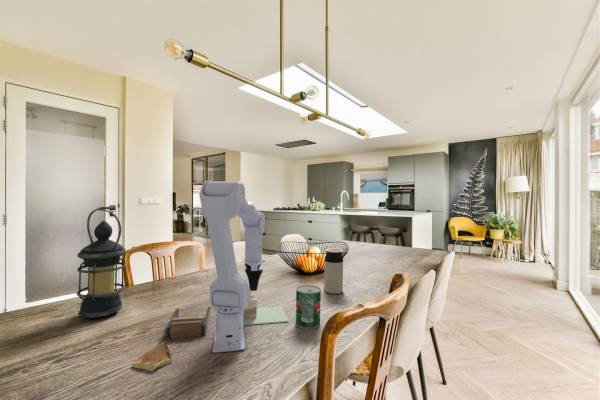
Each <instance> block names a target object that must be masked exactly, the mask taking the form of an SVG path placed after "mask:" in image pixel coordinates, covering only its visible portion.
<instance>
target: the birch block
mask: <svg viewBox="0 0 600 400" xmlns="http://www.w3.org/2000/svg"><path fill="white" fill-rule="evenodd" d="M257 301H258V298H257V295H251V296H250V302H249V304H248V306H247V307H246V308H245V309H244V314H243V319H250V318H256V315H257V308H258V306H257V305H258V302H257Z"/></svg>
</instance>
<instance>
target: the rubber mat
mask: <svg viewBox="0 0 600 400" xmlns="http://www.w3.org/2000/svg"><path fill="white" fill-rule="evenodd" d="M283 323H289V319H288V317H287V314H286V312H285V310H284V308H283V306H275V307H259V308H258V307H257V315H256V318H250V319H243V327H246V326H256V325H269V324H283Z"/></svg>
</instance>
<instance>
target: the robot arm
mask: <svg viewBox="0 0 600 400" xmlns="http://www.w3.org/2000/svg"><path fill="white" fill-rule="evenodd" d="M198 194H199V199H200V205H201V210H202V215H203V216H204V217H205V218H206V223H207V229H208V233H209V238H210V244H211V248H212V249H211V250H212V255H213V259H214V260H213V261H214V266H215V270H216V277H214V279H213V280H211V283H210V285H209V302H210V305H211V307H213V310H214V311H216V313H215V314H216V317H215V318H216V321H215V325H216V326H215V334H214V341H213V347H212V353H224V352H225V353H226V352H235V351H243V350H245V349H246V344H245V343H246V342H245V341H246V339H245V331H244V326H243V314H244V309H245V308H246V307H247V306H248V304H249V302H250V296H252V295H251V294H252V293H251V292H256V291H258V286H259V283H260V278H261V275H262V273H263V272H264V270H263V268H262V269H261V268H260V267H261V265H262V263H265V262H266V259H265V258H263V234H264V233H265V232H264V231H265V224H266V215H265V213H263V212H262V211H259V210H258V209H257V208H256V206H255V205H254V203H252V201H251V200H247V199H246V188H245V185H244V184H243V181H241V180H237V181H234V180H227V181H226V180H225V181H224V180H223V181H222V180H220V181H219V180H217V181H215V180H205V181H204V182H203V183H202V185H201V188H200V191H199V193H198ZM236 217H239V218H240V219H241V222H242V227H243V228H245V239H244V240H245V241H244V242H245V243H244V245H245V246H244V260H243V262H244V266H245V269H244V272H245V274H246V276H247V278H246V277H244V276H243V275H241V274H240V273H239V272H238V269H237V268H238V267H237V262H236V256H235V254H236V253H235V249H234V243H233V237H232V230H231V224H230V220H231V219H234V218H236Z"/></svg>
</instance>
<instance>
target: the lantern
mask: <svg viewBox="0 0 600 400" xmlns="http://www.w3.org/2000/svg"><path fill="white" fill-rule="evenodd" d="M96 211H102V212H103V211H104V212H107V213H109V214H111V216H113V217H114V218H115V220H116V222H117V225H118V235H117V239H116V241H114V240H111V239H110V238H111V236H112V235H113V228H112V225H110V223H108V222H107V221H106V220H102V221H100V223H98V224H97V225H96V227H95V228H94V231H93V232H94V237H95V238H96V239H97V240H95V241H94V240H93V237H92V234H91V228H90V220H91V218H92V215H93V214H94V213H95V212H96ZM86 219H87V220H86V229H87V235H88V238H89V240H90V243H89V244H88V245H86V246H84V247H83V248H82V249H80V251H79V252H78V253H77V258H79V259H80V260H81V259H82V260H83V261H82V262H81V263H80V265H79V267H77V272H78V291H76V296H77V297H78V298H79V299H80V300H82V301H81V303H80V305H81V306H80V307H79V311H78V313H77V315H78V316H79V317H83V318H89V319H95V318H102V317H107V316H110V315H112V314H115V313H116V312H119V311H121V309H122V308H123V301H122V298H121V292H122V291H124V290H125V289H126V285H125V284H124V274H125V273H124V272H125V270H124V269H125V267H126V266H127V264H126V263H125V262H124V259H123V258H122V257H123V256H124V255H125V253H126V248H124V245H123V244H121V243H120V244H119V241H120V239H121V235H122V225H121V221H120V219H119V217H118V216H117V215H116V214H115V213H113V212H112V211H110V210H108V209H103V208H96V209H94V210H92V211H91V212H90V213H89V214H88V216H87V218H86ZM120 261H121V262H120ZM118 265H120V266H118ZM85 268H87V269H88V270H85ZM83 269H84V270H83ZM119 270H121V283H118V271H119ZM82 274H87V286H86V287H83V288H82V287H81V286H82V284H81V283H82V282H81V281H82ZM117 287H121V288H119V289H117ZM86 290H87V293H86V294H82V292H83V291H86Z"/></svg>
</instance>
